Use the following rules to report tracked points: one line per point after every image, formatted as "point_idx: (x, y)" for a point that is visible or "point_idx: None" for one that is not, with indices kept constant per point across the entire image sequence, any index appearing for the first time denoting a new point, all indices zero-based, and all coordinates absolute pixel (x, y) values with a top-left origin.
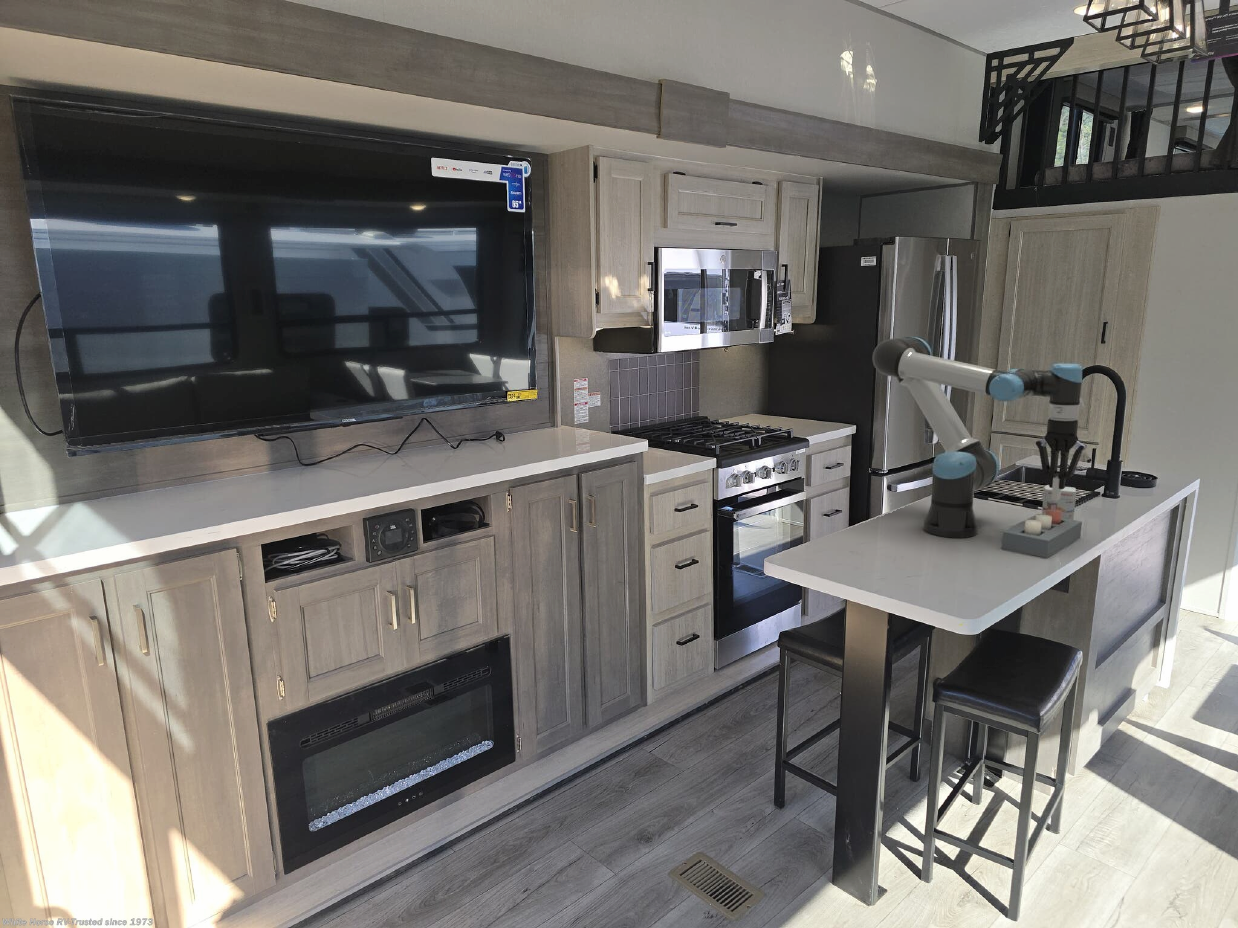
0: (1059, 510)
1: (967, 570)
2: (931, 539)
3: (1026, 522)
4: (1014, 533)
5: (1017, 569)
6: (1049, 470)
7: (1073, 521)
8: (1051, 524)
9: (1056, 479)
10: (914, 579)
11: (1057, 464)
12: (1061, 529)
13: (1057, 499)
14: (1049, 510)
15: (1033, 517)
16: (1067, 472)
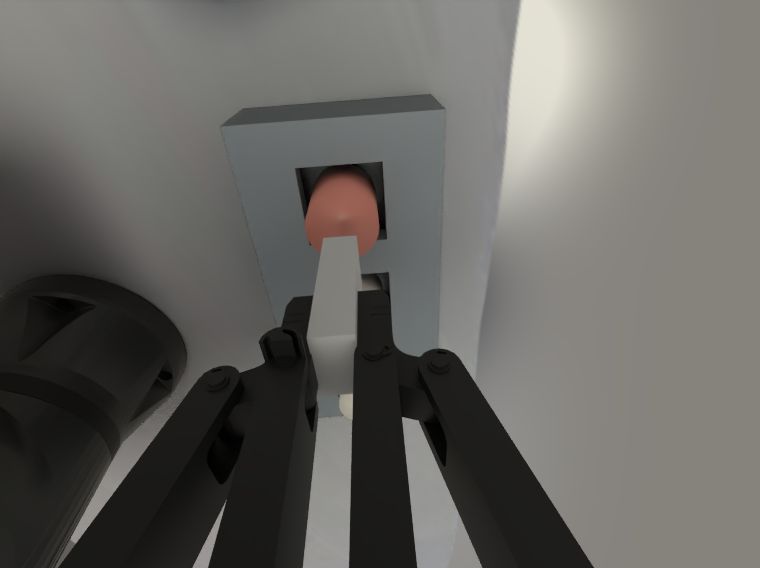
0: (354, 196)
1: (346, 493)
2: (152, 422)
3: (351, 419)
4: (335, 413)
5: (409, 448)
6: (249, 416)
7: (413, 142)
8: (364, 259)
9: (346, 387)
10: (316, 546)
11: (294, 456)
12: (421, 293)
13: (361, 280)
14: (320, 231)
15: (253, 212)
16: (432, 440)
